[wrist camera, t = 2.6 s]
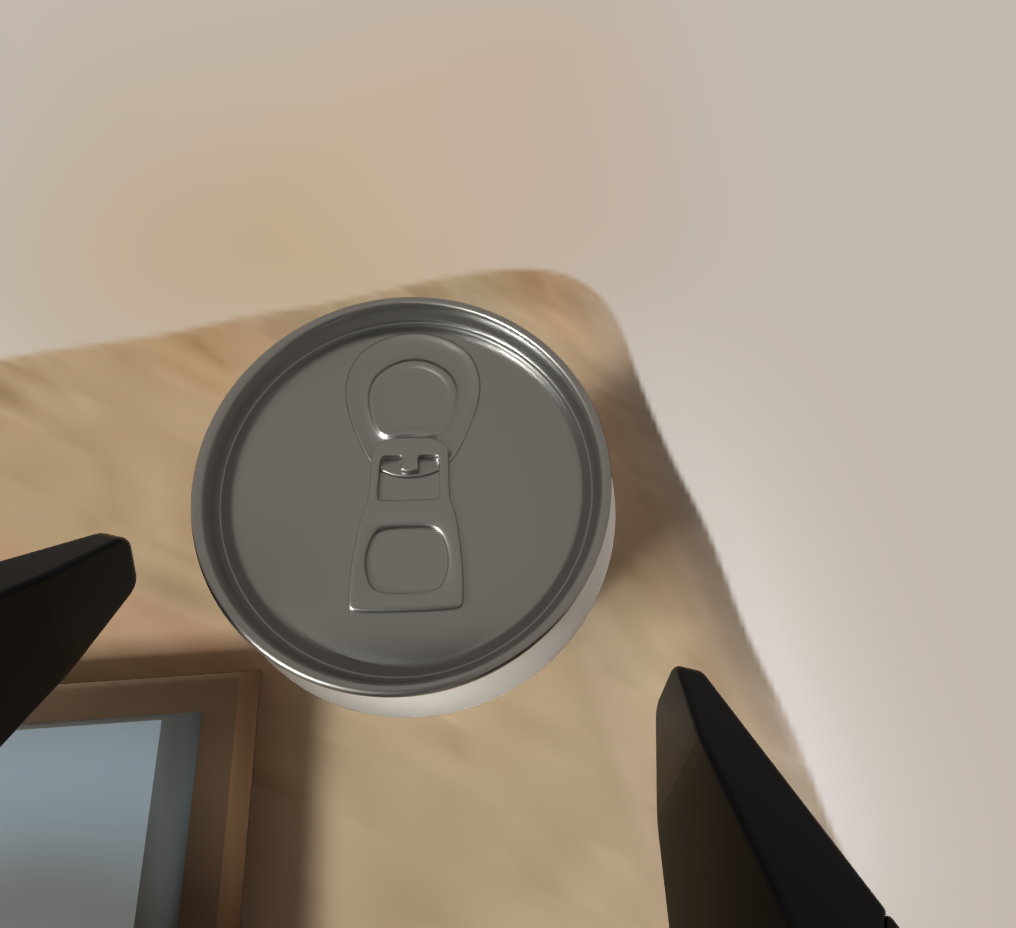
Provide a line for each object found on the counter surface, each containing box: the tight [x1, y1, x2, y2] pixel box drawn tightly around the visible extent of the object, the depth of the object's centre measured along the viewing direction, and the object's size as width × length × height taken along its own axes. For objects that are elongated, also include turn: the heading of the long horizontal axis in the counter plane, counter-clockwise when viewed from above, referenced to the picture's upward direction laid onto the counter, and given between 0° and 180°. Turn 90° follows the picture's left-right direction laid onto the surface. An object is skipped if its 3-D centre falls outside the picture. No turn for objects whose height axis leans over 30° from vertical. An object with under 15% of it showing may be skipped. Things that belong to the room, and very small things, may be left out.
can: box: [191, 297, 616, 718], centre depth 13 cm, size 6×6×12 cm
